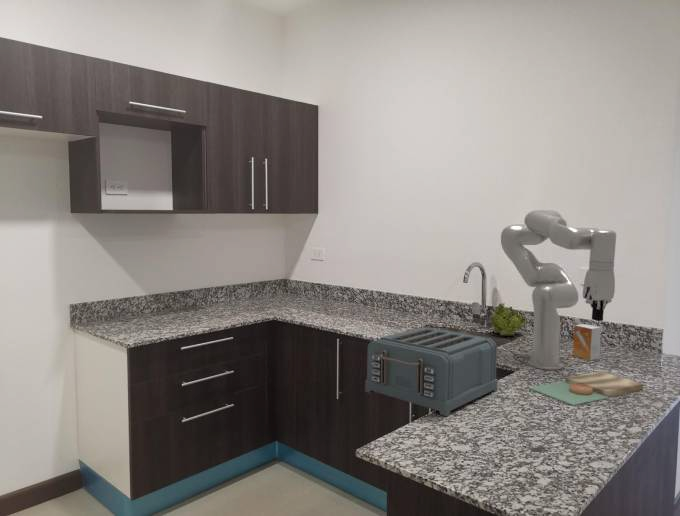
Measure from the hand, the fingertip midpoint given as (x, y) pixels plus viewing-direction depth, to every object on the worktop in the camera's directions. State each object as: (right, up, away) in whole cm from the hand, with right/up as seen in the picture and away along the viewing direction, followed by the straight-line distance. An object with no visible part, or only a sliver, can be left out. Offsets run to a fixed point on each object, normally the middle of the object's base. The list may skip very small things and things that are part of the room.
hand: (597, 320), depth 185 cm
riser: (+2, -22, -1) cm, 22 cm away
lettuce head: (-8, -17, +74) cm, 76 cm away
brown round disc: (-9, -22, -8) cm, 25 cm away
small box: (+13, -20, +37) cm, 44 cm away
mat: (-14, -23, -9) cm, 28 cm away
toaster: (-59, -23, -8) cm, 64 cm away
